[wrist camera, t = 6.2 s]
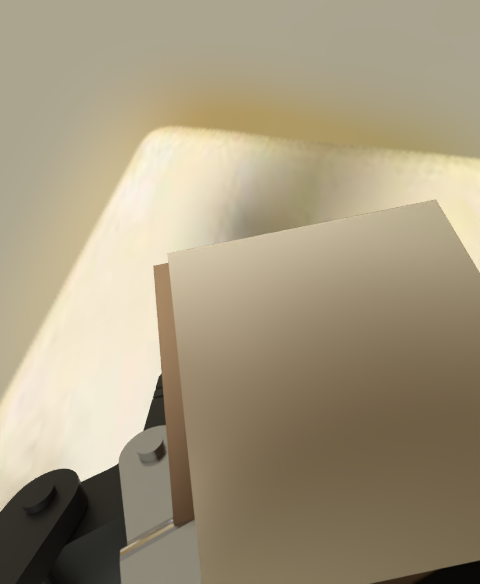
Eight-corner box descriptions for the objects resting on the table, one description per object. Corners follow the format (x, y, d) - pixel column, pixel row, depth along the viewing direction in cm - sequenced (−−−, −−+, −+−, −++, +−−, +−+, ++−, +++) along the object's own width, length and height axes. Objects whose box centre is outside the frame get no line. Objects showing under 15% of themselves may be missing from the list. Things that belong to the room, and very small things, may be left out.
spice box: (225, 379, 16) (132, 233, 5) (325, 358, 16) (452, 168, 5) (245, 498, 13) (153, 711, 3) (361, 474, 14) (729, 586, 3)
